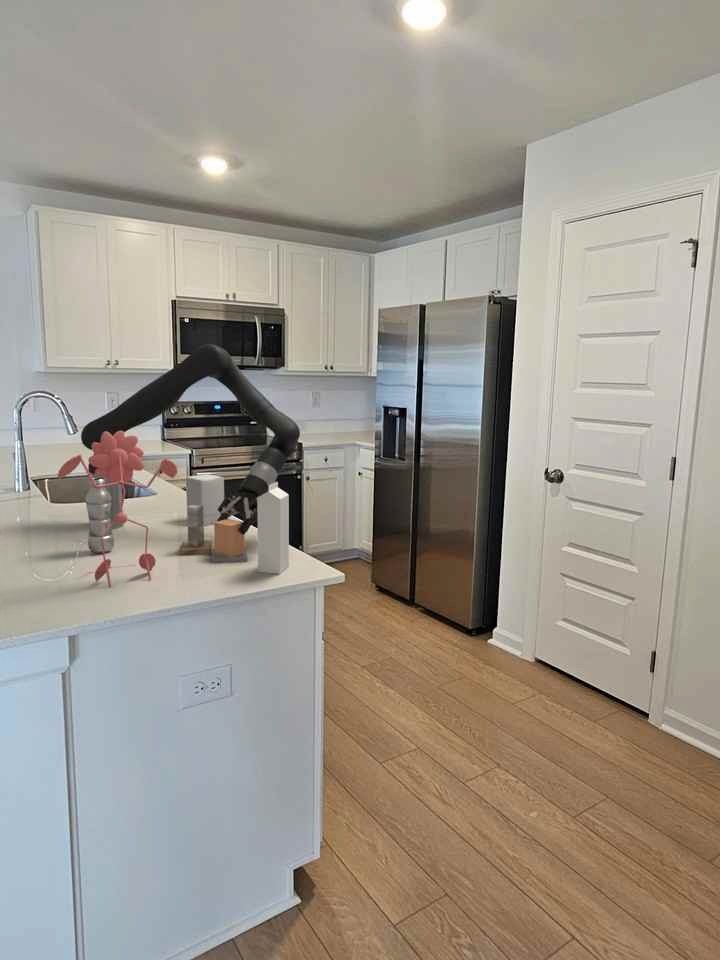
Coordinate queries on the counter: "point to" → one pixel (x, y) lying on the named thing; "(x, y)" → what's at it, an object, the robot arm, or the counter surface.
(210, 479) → the supplement box
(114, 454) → the figurine
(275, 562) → the milk
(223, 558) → the mat
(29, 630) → the counter surface
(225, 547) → the tall orange box
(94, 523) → the plastic bottle
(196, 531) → the post stand
